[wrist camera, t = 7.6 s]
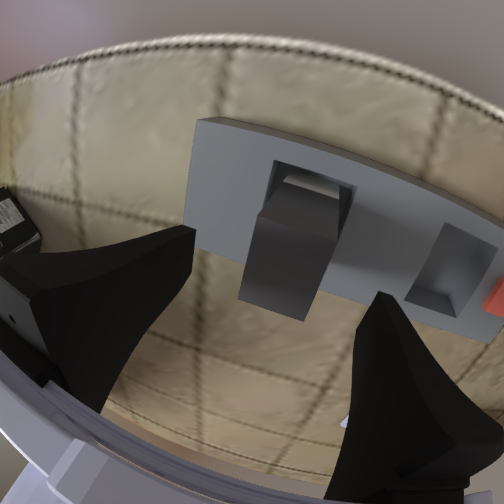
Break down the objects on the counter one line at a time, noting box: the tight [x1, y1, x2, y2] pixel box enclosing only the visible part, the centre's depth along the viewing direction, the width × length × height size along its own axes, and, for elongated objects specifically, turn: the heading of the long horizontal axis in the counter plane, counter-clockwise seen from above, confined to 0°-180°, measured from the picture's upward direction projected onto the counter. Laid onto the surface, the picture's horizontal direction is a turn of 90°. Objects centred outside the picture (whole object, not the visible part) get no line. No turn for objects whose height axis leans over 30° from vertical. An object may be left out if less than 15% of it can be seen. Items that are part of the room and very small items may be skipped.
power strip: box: [183, 117, 504, 344], centre depth 16 cm, size 24×8×4 cm, turn 78°
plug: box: [238, 170, 339, 322], centre depth 15 cm, size 3×4×8 cm
